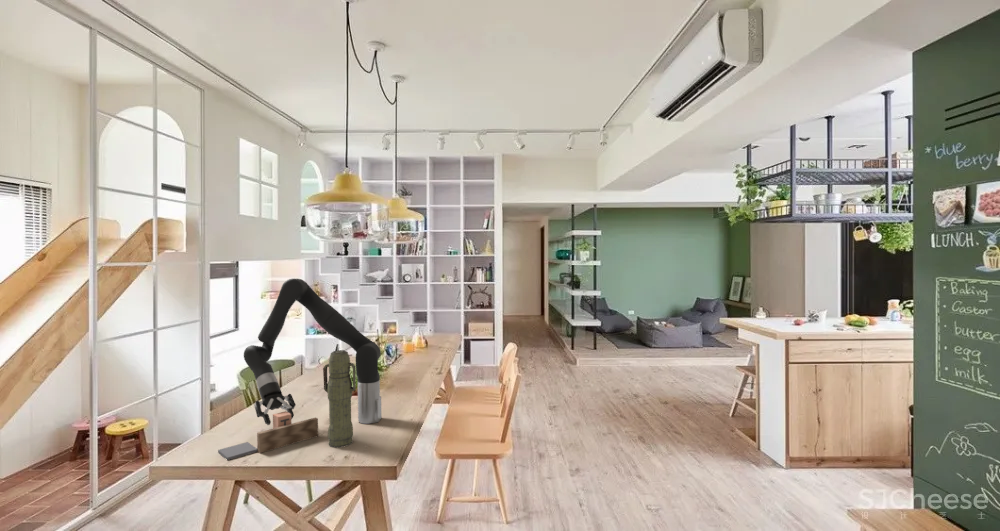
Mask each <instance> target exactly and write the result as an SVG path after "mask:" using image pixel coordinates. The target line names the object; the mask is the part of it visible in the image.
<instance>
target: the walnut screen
mask: <svg viewBox="0 0 1000 531" xmlns="http://www.w3.org/2000/svg"><path fill="white" fill-rule="evenodd" d="M256 434H257V435H256V441H257V442H256V443H257V447H256V448H257V449H258V452H257V453H259V454H261V453H262V454H263V453H265V452H269V451H273V450H276V449H279V448H282V447H285V446H289V445H292V444H296V443H300V442H303V441H307V440H311V439H314V438H316V436H317V437H319V418H318V417H316V416H315V417H312V418H308V419H305V420H300V421H297V422H293V423H292V422H291V424H289V425H285V426H281V427H277V428H273V427H272V428H270V429H267V430H263V431H258V432H257V433H256Z"/></svg>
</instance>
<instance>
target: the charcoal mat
mask: <svg viewBox="0 0 1000 531" xmlns="http://www.w3.org/2000/svg"><path fill="white" fill-rule="evenodd" d="M217 451H218V452H217V453H218V454H219V455H220V456H222V458H224V459H225V458H226V459H227V460H226V459H225V460H226V461H230V460H229V459H231V460H234V459H237V457H238V458H240V456H241V457H244V455H245V456H248V455H252V454H255V453H259V452H258V449H257V447H255V446H254V445H253V444H251V443H250V442H248V441H246V442H243V443H239V444H235V445H231V446H228V447H224V448H220V449H218V450H217ZM233 458H234V459H233Z"/></svg>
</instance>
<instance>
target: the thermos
mask: <svg viewBox="0 0 1000 531" xmlns="http://www.w3.org/2000/svg"><path fill="white" fill-rule="evenodd" d="M351 368H352V378H351V374H350V372H351ZM322 371H323V372H322V375H323V376H322V377H323V390H324V392H326V393H327V400H328V412H329V413H328V415H329V420H328V421H329V423H328V424H329V426H328V428H327V439H328V446H329V447H331V448H337V447H338V448H343V447H344V446H345V447H348V446H350V445H351V444H352V443H353V442H354V441H353V435H354V426H353V422H352V397H353V392H354V391H356V388H357V387H356V384H357V381H356V379H357V375H356V364H355V363H352V362H351V357H350V355H349V353H348V351H346V350H341V349H340V350H333V351H331V353H330V354H329V358H328V363H327V364H325V365H324V366H323V368H322ZM328 373H329V376H328ZM345 447H344V448H345Z"/></svg>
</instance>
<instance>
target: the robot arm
mask: <svg viewBox="0 0 1000 531" xmlns="http://www.w3.org/2000/svg"><path fill="white" fill-rule="evenodd" d="M296 302H298V303H299V304H301V305H302V306H303V307H304V308H306V310H308V311H309V313H310V315H311V316H312V318H313V319H314V320H315V321H316V323H317V324H318V325H319V326H320V328H322V329H323V330H324V331H326V332H327V333H328V334H330V336H332V337H334V338H336V339H337V340H339V341H342V342H343V343H346V344H347V345H348V346H349V347H350V348H352V349H353V350H354V351H355V352H356V353H355V370H356V379H357V413H358V414H357V420H358V421H359V422H360V424H367V425H368V424H375V423H378V422H380V421H381V419H382V415H383V414H382V396H381V390H380V389H381V384H380V382H381V380H380V378H381V377H380V373H379V362H378V361H379V359H380V357H381V355H382V352H381V348H380V347H379V345H378V344H376V343H375V342H374V341H373V340H371V339H369V338H368V337H367V336H365V335H364V334H363V333H362V332H360V331H359V330H358V329H357V328H356V327H355V326H354V325H353V324H352V323H351V322H350V321H349V320H348V319H346V318H345V317H344V315H343V314H341V313H340V312H339V311H338V310H336V308H334V307H333V306H332V305H331V304H329V303H328V302H326V301H325V300H324V299H323V298H321V297H320V296H319V294H317V293H316V292H315V291H314V289H313V288H312V287H311V286H310V285H309V284H308V283H307V282H306V281H305V280H303V279H301V278H289V279H287V280H285V281H284V282H283V284H282V285H281V288H280V290H279V292H278V296H277V299H276V302H275V303H274V306H273V308H272V310H271V312H270V314H269V316H268V318H267V320H266V321H265V323H264V325H263V327H262V328H261V329H260V331H259V334H258V336H257V340H258V341H260V343H262V345H261V346H259V345H249V346H248V345H247V347H245V349H244V352H243V359H244V362H245V363H246V365H247V366H248V367H249V369H250V370H251V372H252V373H253V374H254V375H253V376H254V378H255V381H256V386H257V391H258V393H259V395H260V398H261V400H260V401H259V400H256V401H255V402H254V409H255V413H256V414H255V415H256V417H257V418H263V422H264V424H266V425H267V426H270V425H271V423H272V421H271V419H270V415H269V414H268V412H269V410H270V411H273V410H275V409H276V410H278V409H282V410H285V411H286V412H288V413H290V414H291V420H292V419H293V418H294V415H295V414H294V411H293V410H294V409H295V407H296V401H295V400H294V398H293V395H292V394H291V393H288V395H283V392H282V389H281V386H280V383H279V381H278V378H277V376H276V375H275V371H274V369H273V366H272V365H271V363H269V362H268V361H269V360H270V359H271V358H272V355H273V351H274V346H275V343H276V340H277V339H278V337H279V335H280V333H281V331H282V329H283V327H284V325H285V322H286V319H287V315H288V313H289V311H290V309H291V308H292V306H293V305H294V304H295V303H296ZM262 406H263V407H265V410H264V411H262ZM359 422H358V423H359Z"/></svg>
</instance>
